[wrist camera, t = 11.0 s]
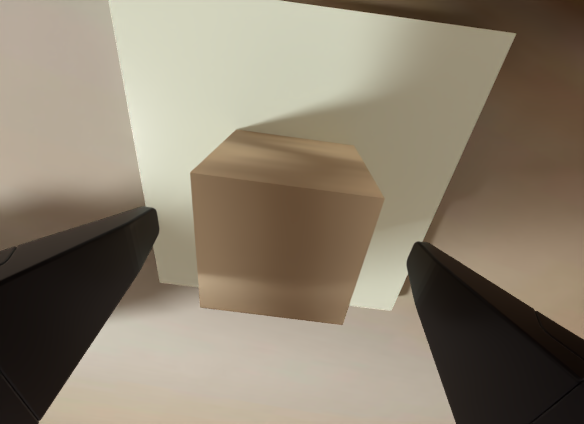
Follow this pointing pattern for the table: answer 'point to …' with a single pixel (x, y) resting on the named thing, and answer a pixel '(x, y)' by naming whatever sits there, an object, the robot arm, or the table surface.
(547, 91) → the table surface
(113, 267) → the robot arm
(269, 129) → the sage board
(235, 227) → the maple cube
